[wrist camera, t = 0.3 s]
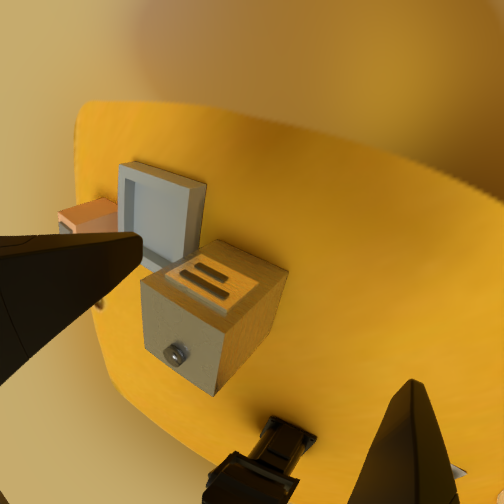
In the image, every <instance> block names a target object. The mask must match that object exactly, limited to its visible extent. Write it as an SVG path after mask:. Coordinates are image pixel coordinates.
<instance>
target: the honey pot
mask: <svg viewBox="0 0 504 504" xmlns="http://www.w3.org/2000/svg"><path fill="white" fill-rule="evenodd" d="M497 504H504V490H503V491H502V492H501V493H500V494H499V495H498V498H497Z"/></svg>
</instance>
